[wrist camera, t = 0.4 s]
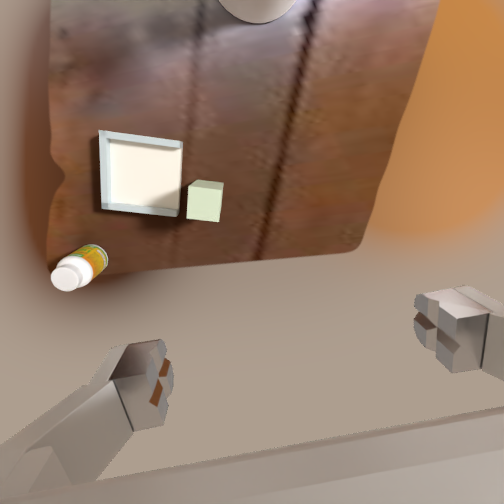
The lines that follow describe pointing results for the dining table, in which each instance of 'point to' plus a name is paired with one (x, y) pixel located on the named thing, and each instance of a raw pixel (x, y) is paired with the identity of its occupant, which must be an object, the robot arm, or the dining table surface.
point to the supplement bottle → (79, 267)
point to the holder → (140, 173)
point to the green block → (204, 200)
